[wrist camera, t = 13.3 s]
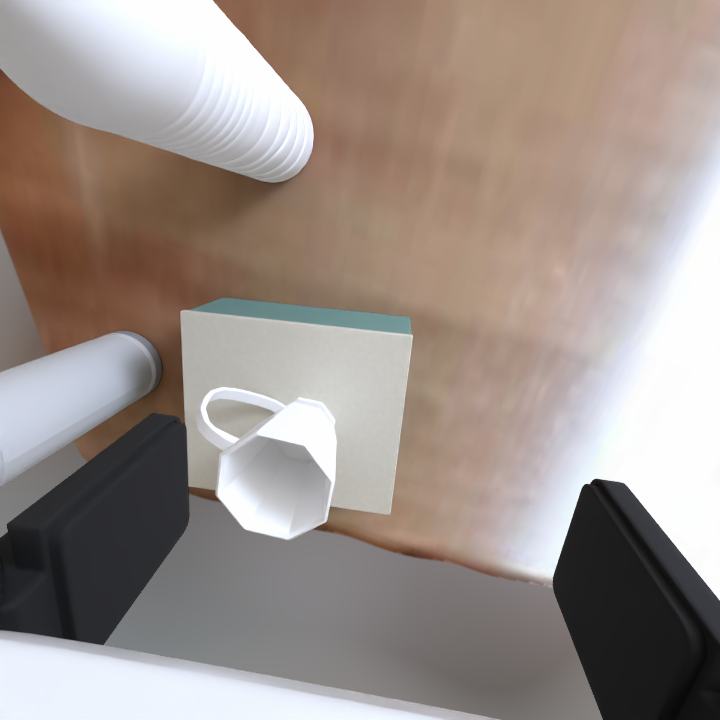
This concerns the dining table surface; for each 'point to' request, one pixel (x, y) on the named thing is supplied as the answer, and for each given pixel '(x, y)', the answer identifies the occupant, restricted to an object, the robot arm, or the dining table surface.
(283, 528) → the cup
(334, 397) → the stand
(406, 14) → the dining table surface
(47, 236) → the dining table surface
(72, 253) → the dining table surface
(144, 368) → the travel mug
